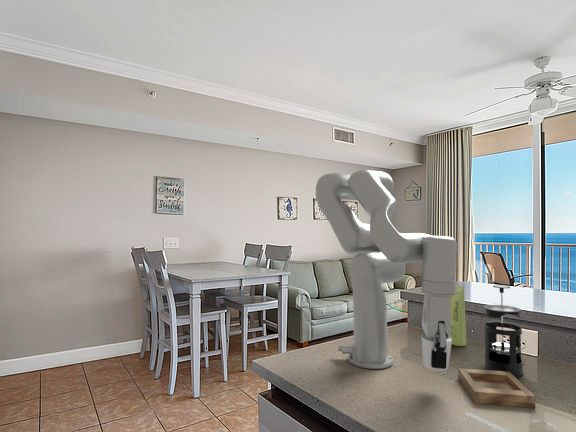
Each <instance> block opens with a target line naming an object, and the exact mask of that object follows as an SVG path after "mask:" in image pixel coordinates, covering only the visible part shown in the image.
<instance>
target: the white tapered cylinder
mask: <svg viewBox="0 0 576 432" xmlns="http://www.w3.org/2000/svg"><path fill="white" fill-rule="evenodd" d="M435 337H439V335H436V334H435ZM446 340H447V343H446V346H447V359H446V369H441V368H433V367H432V366H431V355H432V350H433V337H431V338H429V337H428V336H427V335H426V334H425V333H422V334H421V352H422V364H423V367H425V368H427V369H428V370H431V371H436V372H437V371H439V372H444V371H448V369H449V364H450V359H451V351H452V345H453V344H452V339H451V338H449V339H446ZM437 342H439V340H436V344H437Z"/></svg>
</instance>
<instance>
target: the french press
mask: <svg viewBox="0 0 576 432" xmlns="http://www.w3.org/2000/svg"><path fill="white" fill-rule="evenodd" d="M492 287H493V288H495V289H496V288H497V289H499V293H500V304H487V305H484V306H483V309H484V311H485V316H487V317H489V318H493V319H499V318H501V321H490V320H489V321H488V320H487V321H486V322H484V323H483V330H484V364H483V370H492V371H508V372H510V373H511V374H512V375H514V376H515V377H516V378H517V379H518V378H521V377H523V376H524V375H525V372H524V369H523V368H524V365H523V364H524V363H523V359H522V346H521V345H522V343H521V342H522V340H521V338H522V337H521V335H522V334H523V327H521V326H519V325H517V324H515V323H514V324H513V323H509V322H508V323H507V322H504V316H505V315H511V316H515V317H518V318H521V317H520V316H521V315H520V313H522V309H521V308H520V307H515V306H511V305H504V303H503V300H504V299H503V294H505V293H504V291H505V290H504V289H511V286H509V285H505V284H494V285H493V286H492ZM497 328H498V329H497ZM499 328H501V329H499ZM504 328H505V329H506V330H505V329H504ZM507 329H511V330H507ZM497 335H499V336H501V341H500V342H499V341H498V338H497ZM504 336H506V337H507V336H508V341H509V343H507V342H504Z"/></svg>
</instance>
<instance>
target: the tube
mask: <svg viewBox="0 0 576 432" xmlns="http://www.w3.org/2000/svg"><path fill="white" fill-rule="evenodd" d="M464 289H465V287H464V286H461V285H455V296H453V297H451V331H450V338H451V339H452V344H451V345H453V346H457V347H465V346H467V323H466V305H465V301H466V300H465V290H464Z"/></svg>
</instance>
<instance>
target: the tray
mask: <svg viewBox="0 0 576 432" xmlns="http://www.w3.org/2000/svg"><path fill="white" fill-rule="evenodd" d="M458 379H459V381H460V383H461V384H462V386H463V388H465V390H466V391H467V393H468V395H469V396H470V398H471V400H472V401H473V403H474V404H478V405H479V404H480V405H493V406H504V407H518V408H529V409H536V396H535V395H534V393H532V392H531V391H530V390H529V388H527V387H526V386H525V385H524V384H523V383H522V382H521V381H520V380H519V379H518V377H517V378H516V377H515V376H514V375H512V374H511V373H510V372H508V371H492V370H485V369H473V368H458Z"/></svg>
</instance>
